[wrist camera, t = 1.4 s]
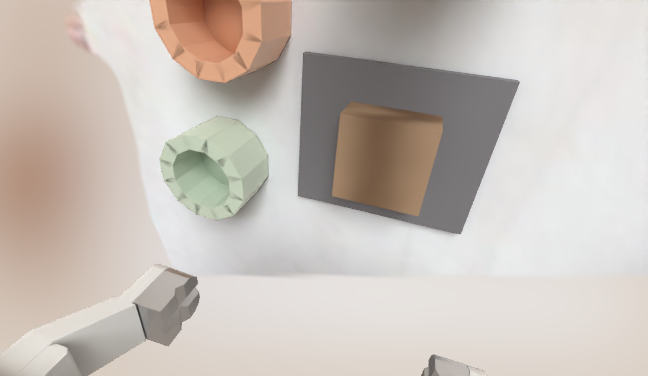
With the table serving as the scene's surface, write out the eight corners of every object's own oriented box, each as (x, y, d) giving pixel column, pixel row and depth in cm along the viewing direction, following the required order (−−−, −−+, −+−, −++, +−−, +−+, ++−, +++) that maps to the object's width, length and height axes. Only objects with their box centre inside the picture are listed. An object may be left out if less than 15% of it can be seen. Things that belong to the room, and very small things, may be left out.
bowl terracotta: (292, -50, 20) (259, -61, 16) (290, 75, 24) (263, 89, 20) (188, -56, 22) (136, -67, 18) (202, 62, 26) (162, 72, 22)
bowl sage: (267, 125, 27) (239, 146, 23) (269, 200, 31) (245, 228, 27) (189, 110, 29) (152, 127, 25) (200, 183, 33) (169, 207, 29)
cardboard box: (442, 116, 22) (442, 131, 19) (420, 194, 25) (418, 216, 23) (351, 101, 23) (340, 113, 21) (341, 177, 27) (331, 196, 24)
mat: (517, 80, 20) (519, 82, 19) (460, 230, 26) (460, 234, 26) (306, 51, 23) (303, 53, 22) (300, 192, 29) (298, 195, 29)
